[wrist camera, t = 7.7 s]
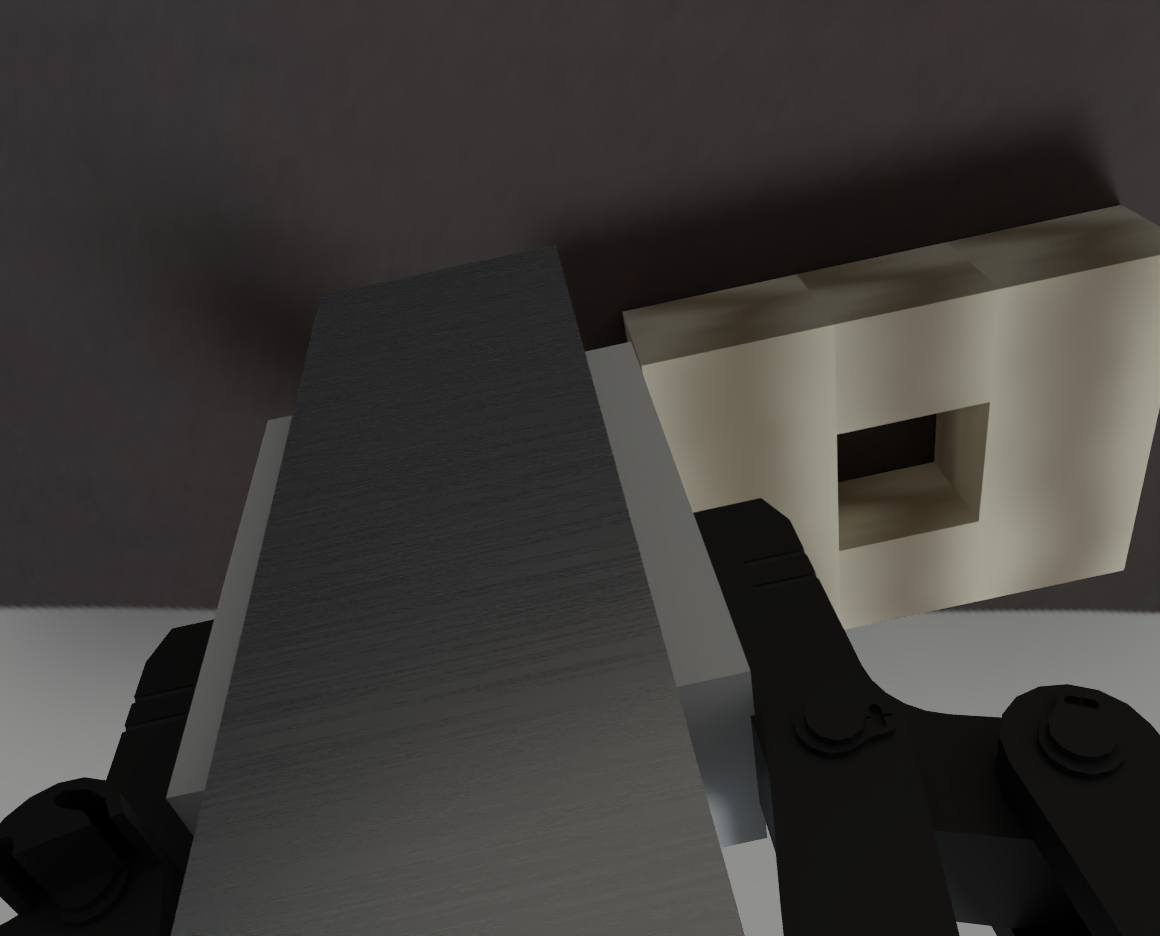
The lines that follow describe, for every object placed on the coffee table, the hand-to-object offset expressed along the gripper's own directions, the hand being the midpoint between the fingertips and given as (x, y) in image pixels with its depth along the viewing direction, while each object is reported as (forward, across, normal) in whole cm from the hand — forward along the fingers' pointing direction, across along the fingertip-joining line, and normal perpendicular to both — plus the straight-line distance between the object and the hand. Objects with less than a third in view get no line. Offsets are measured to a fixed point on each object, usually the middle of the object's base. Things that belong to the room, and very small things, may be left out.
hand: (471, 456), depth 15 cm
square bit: (+3, 0, 0) cm, 3 cm away
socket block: (+18, +13, -14) cm, 26 cm away
